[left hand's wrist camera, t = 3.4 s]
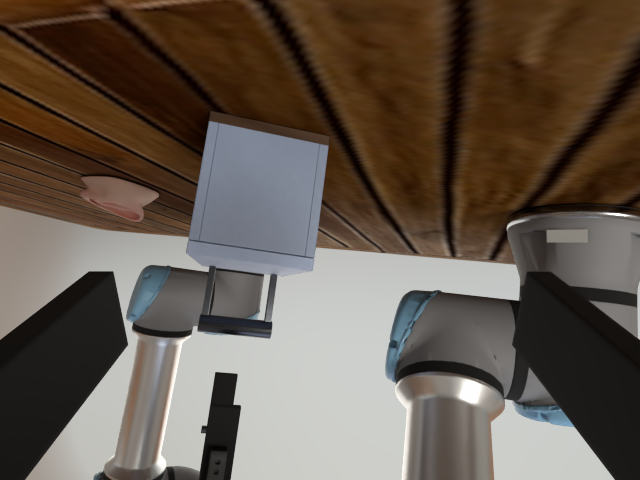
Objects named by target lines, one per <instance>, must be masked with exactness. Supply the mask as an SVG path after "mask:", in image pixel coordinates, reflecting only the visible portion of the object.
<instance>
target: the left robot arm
mask: <svg viewBox="0 0 640 480" xmlns="http://www.w3.org/2000/svg"><path fill="white" fill-rule="evenodd" d="M507 235H508V239H509V243H510V246H511V249H512V253H513V256H514V259H515V263H516V266H517V269H518V273H519V276H520V297H519V301H515V300H507V299H498V298H488V297H480V296H471V295H462V294H453V293H444V292H441V291H440V290H437V291H418V290H414V291H410V292H408V293H407V294H405V295H404V296H403V297H402V299H401V301H400V303H399V306H398V309H397V312H396V315H395V318H394V322H393V326H392V330H391V335H390V343H389V347H388V351H387V357H386V365H385V374H386V376H387V378H388V379H390V380H392V381H393V382H396V388H395V393H396V396H397V398H398V400H399V401H400V402H401V403H402V404H403V406H404V407H405V408H406V409H407V420H406V432H405V445H404V457H403V470H402V480H494V471H493V454H492V438H491V421H493V420H494V419H495V418H496V417H498V416H499V415H500V414H501V413H502V412H503V410H504V408H505V401H504V399H508V400H513V405H514V406H515V409H516V411H517V412H518V413H519V414H521V415H522V416H524V417H527V418H530V419H533V420H536V421H542V422H550V423H551V424H555V425H561V426H570V427H575V428H576V429H577V431H578V432H579V433H580V435H581V436H582V437H583V438H584V440H585V441H586V442H587V444H588V445H589V446H590V448H591V449H592V450H593V452H594V453H595V454H596V455H597V457H598V458H599V459H600V461H601V462H602V463H603V465H604V466H605V467H606V469H607V470H608V471H609V473H610V474H611V475H612V476H613V478H614V479H615V480H640V340H639V339H638V334H637V333H638V332H637V288H638V284H639V281H640V209H635V208H629V207H621V206H609V205H562V206H550V207H541V208H535V209H529V210H525V211H521V212H518V213H515V214H513V215H511V216H510V217H509V218H508V219H507ZM127 346H128V342H127V337H126V332H125V327H124V322H123V317H122V312H121V308H120V302H119V298H118V293H117V288H116V283H115V278H114V273H113V272H88V273H87V274H85V275H84V276H83V277H81V278H80V279H79V280H77V281H76V282H75V283H74V284H72V285H71V286H70V287H68V288H67V289H66V290H64V291H63V292H62V293H61V294H59V295H58V296H57V297H55V298H54V299H53V300H52V301H50V302H49V303H48V304H46V305H45V306H44V307H42V308H41V309H40V310H39V311H37V312H36V313H35V314H33V315H32V316H31V317H29V318H28V319H27V320H26V321H24V322H23V323H22V324H20V325H19V326H18V327H16V328H15V329H14V330H13V331H11V332H10V333H9V334H7V335H6V336H5V337H3V338H2V339H1V340H0V480H25V479H26V478H27V476H28V475H29V474H30V472H31V471H32V470H33V468H34V467H35V466H36V465H37V463H38V462H39V461H40V459H41V458H42V457H43V455H44V454H45V453H46V452H47V450H48V449H49V448H50V446H51V445H52V444H53V442H54V441H55V440H56V438H57V437H58V436H59V435H60V433H61V432H62V431H63V429H64V428H65V427H66V425H67V424H68V423H69V421H70V420H71V419H72V417H73V416H74V415H75V414H76V412H77V411H78V410H79V408H80V407H81V406H82V404H83V403H84V402H85V401H86V399H87V398H88V397H89V395H90V394H91V393H92V391H93V390H94V389H95V387H96V386H97V385H98V383H99V382H100V381H101V380H102V378H103V377H104V376H105V374H106V373H107V372H108V370H109V369H110V368H111V366H112V365H113V364H114V363H115V361H116V360H117V359H118V357H119V356H120V355H121V353H122V352H123V351H124V349H125V348H126V347H127Z"/></svg>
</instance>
